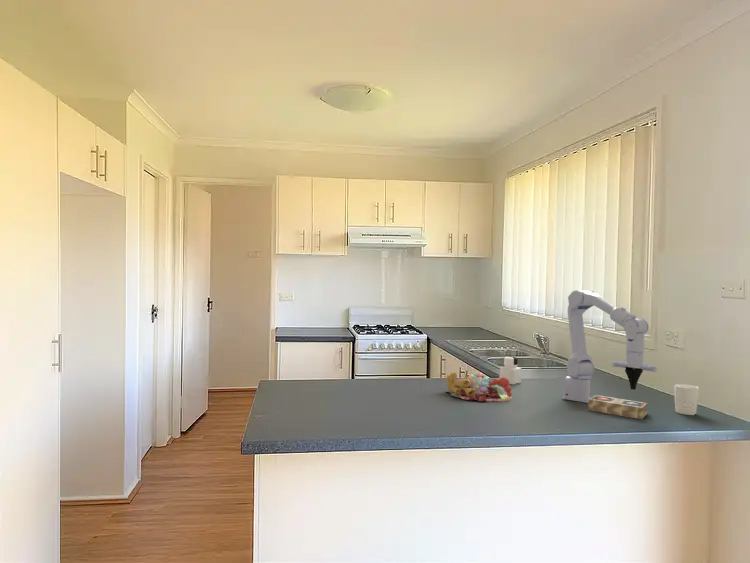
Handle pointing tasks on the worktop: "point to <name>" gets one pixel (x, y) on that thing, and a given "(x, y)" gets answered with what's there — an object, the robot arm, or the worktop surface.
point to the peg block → (617, 407)
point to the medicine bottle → (511, 370)
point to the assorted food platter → (478, 388)
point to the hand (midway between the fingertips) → (633, 389)
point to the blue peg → (632, 403)
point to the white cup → (686, 399)
